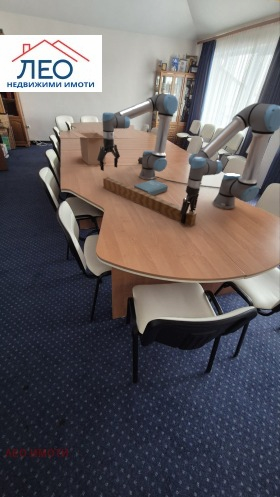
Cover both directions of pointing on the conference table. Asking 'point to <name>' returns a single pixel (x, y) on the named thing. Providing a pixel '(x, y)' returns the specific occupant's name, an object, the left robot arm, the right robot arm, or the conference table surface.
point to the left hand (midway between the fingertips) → (109, 168)
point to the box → (90, 146)
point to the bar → (149, 201)
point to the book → (151, 187)
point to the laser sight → (140, 160)
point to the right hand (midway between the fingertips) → (186, 221)
